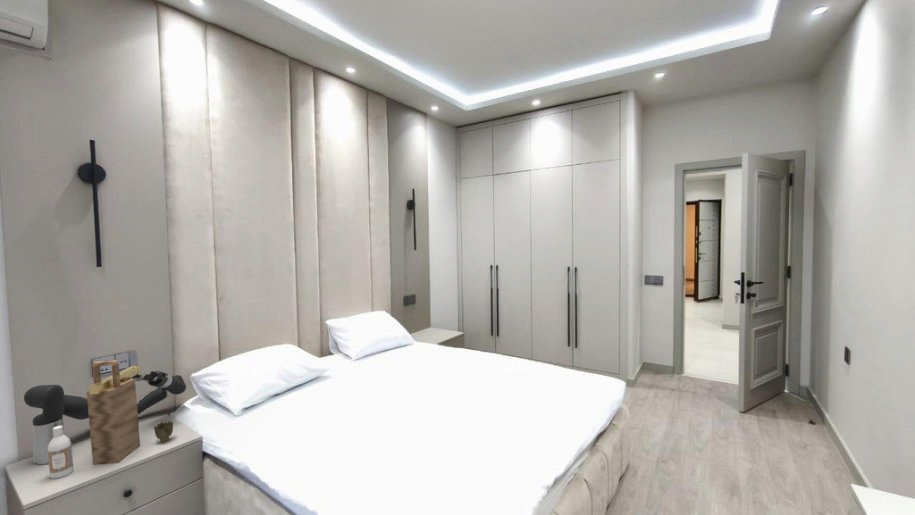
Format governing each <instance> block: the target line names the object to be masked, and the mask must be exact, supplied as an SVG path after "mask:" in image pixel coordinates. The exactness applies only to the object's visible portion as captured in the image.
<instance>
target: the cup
mask: <svg viewBox="0 0 915 515" xmlns="http://www.w3.org/2000/svg"><path fill="white" fill-rule="evenodd" d="M153 429H154V433H155V434H154V435H155V437H156V439H158V440H159V441H160V443H165V442H168V441H169V440H170V437H171V436H172V434H173V431H174V422H173V421H171V420H168V421H165V422H163V421H161V422H160V423H157V424H156V426H155V425H154V426H153Z"/></svg>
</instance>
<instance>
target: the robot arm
mask: <svg viewBox="0 0 915 515" xmlns="http://www.w3.org/2000/svg"><path fill="white" fill-rule="evenodd" d="M183 378H184V377H183V376H181V374H176V375H171V374H168V372H163V371H161V370H156V371H153V370H152V371H150V372H149V373H146V372H145V373H143V372H142V373H139V374H137V375H135V376H133V377H131V379H135V382H136V381H137V382H143V381H144V382H147V383H148V385H149V386H152V387H155V388H156V390H155V389H154V391H153V390H151V391H150V392H148V393H149V394H148V393H147V394H148V395H146V394H145V395H146V396H145V395H144V396H145V397H144V398H143V399H142V400H140V399H139V400H140V401H139V400H138V402H139V403H138V402H137V403H138V404H137V412H138V414H139V415H141V414H142V413H143V412H144V410H145V411H146V410H148V409H149V408H151V407H152V406H154V405H156V404H158V403H160V402H161V401H163V400H165V399H167V398H168V392H169V393H170V394H171V395H176V396H177V395H180V394H183V393H184V392H185V391H186V389H187V384H186V382H185V380H184V379H183ZM23 401H24V403H25V405H27V406H28V407H30V408H36V409H42V413H39V414H38V415H36V416H35V417H33V419H32V430H33V438H34V439H33V441H32V442H31V447H32V456H33V457H32V458H33V459H32V460H33V464H37V465H46V464H49V461H48V445H49V443H50V442H51V440H52V439H53V437H54V436H53V428H54V427H57V426H63V434H64V435H65V425H64V416H66V417H67V418H71V419H75V420H81V421H83V420H86V419H89V413H88V402H87V397H83V396H79V395H78V396H77V395H69V394H65V391H64V388H63V387H62V386H61V385H60V384H40V385H37V386H33V387H31V388H29V389H28V390H26V392H25V393H24V395H23ZM147 408H148V409H147ZM141 412H142V413H141Z"/></svg>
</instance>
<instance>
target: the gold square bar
mask: <svg viewBox="0 0 915 515" xmlns="http://www.w3.org/2000/svg"><path fill="white" fill-rule="evenodd" d="M119 373H120V383H121V382H122V380H123V379H125V378H127V377H130V379H132V377H133V376H135V375H137V374H141V366H140V365H131V366H129V367H127V368H125V369H122V370H119ZM111 387H113V376H112V375H110V376H107V377H106V378H104V379H101V381H99V382H97V383H95V384H94V383H93V384H91V385H89V386H88V390H89V394H99V393H101V392H103V391H105V390H107V389H109V388H111Z"/></svg>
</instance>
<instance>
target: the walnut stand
mask: <svg viewBox="0 0 915 515" xmlns="http://www.w3.org/2000/svg"><path fill="white" fill-rule="evenodd" d="M119 361H120V360H119V359H117V360H116V359H115V360H103V361H102V360H100V361H99V360H98V361H93V362H91V364H92V374H93V376H92V377H93V384H95V383H97V382H99V381H101V380H102V371H101V367H103V366H104V367H105V366H106V367H107V366H111V372H112V373H111V374H112V375H111V376H113V387H111V388H109V389H107V390H105V391H103V392H101V393H99V394H89V391H87V392H86V399H87V402H88V413H89V418H88V422H89V423H88V424H89V436H90V446H91V457H92V459H91V460H92V465H93V466H98V465H108V464H110V465H111V464H119V463H121V462H122V461H123V460H124V459H125V458H127V457H128V456H129V455H131V454H132V453H133V452H134V451H136V450H137V449H138V448H140V446H141V442H140V441H141V439H140V428H139V427H140V426H139V415H138V412H137V403H138V401H137V388H136V387H137V386H136V380H135V379H132V378H130V377H127V378H125V379H123V380H122V382H121V383H120V373H119V372H120V362H119Z"/></svg>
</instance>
